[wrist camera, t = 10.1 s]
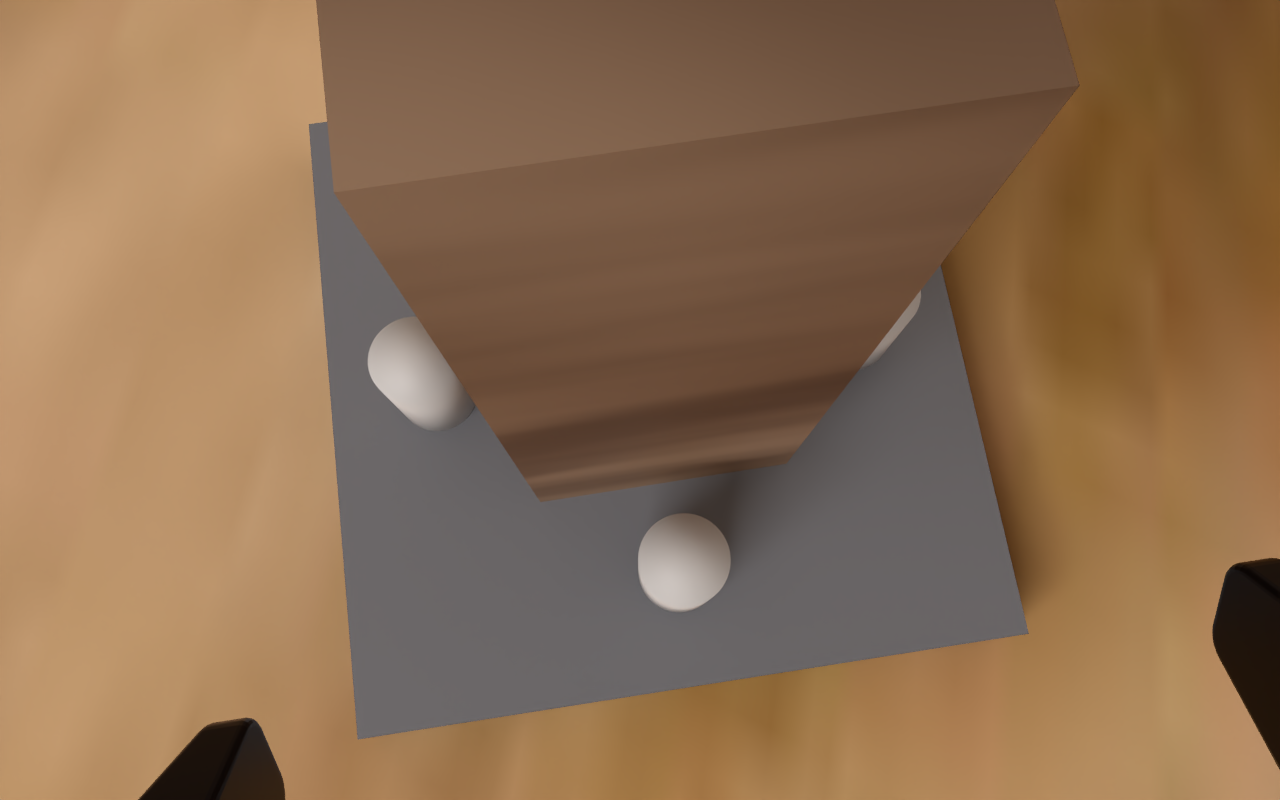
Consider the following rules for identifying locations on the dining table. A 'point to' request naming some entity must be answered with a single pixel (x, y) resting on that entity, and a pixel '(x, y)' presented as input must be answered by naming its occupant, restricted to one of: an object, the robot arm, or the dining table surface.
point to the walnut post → (673, 201)
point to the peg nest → (640, 529)
